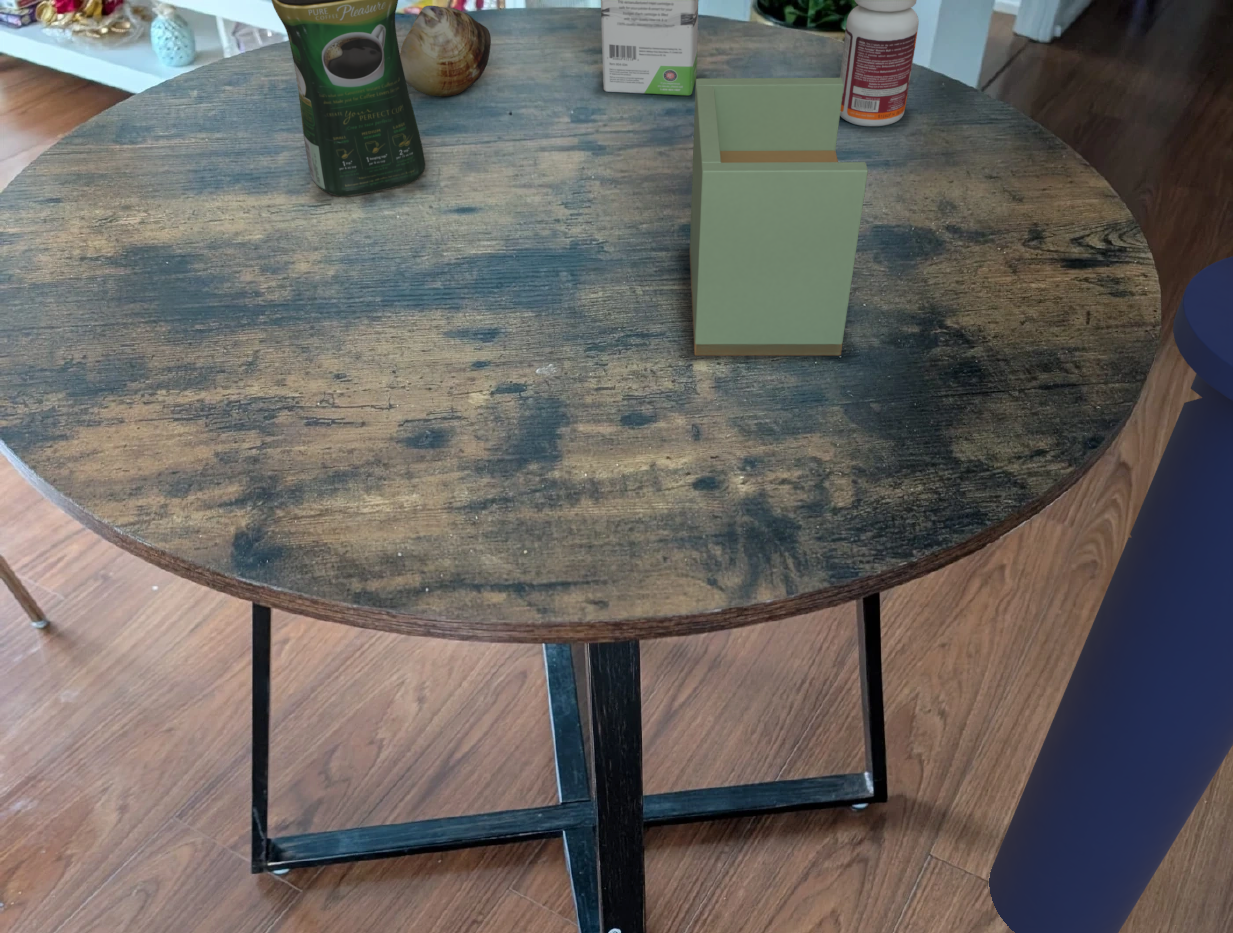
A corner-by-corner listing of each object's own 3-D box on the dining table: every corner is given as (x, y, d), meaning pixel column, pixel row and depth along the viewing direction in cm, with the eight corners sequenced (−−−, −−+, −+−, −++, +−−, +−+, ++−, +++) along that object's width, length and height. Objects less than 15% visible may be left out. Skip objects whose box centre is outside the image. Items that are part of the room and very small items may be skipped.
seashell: (421, 117, 107) (409, 24, 101) (391, 97, 110) (377, 6, 104) (508, 91, 110) (501, 0, 105) (476, 72, 114) (467, -17, 108)
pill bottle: (917, 119, 105) (941, -18, 97) (862, 134, 103) (882, -4, 95) (875, 95, 109) (895, -39, 100) (821, 109, 107) (837, -26, 98)
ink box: (697, 76, 112) (702, -60, 104) (691, 97, 109) (695, -42, 100) (610, 71, 113) (608, -64, 105) (601, 92, 110) (598, -46, 101)
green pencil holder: (820, 252, 89) (841, 77, 79) (840, 355, 79) (868, 170, 70) (689, 252, 89) (695, 77, 80) (694, 355, 79) (702, 170, 70)
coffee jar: (411, 147, 102) (376, -93, 89) (435, 185, 97) (402, -63, 84) (302, 167, 100) (249, -77, 86) (321, 207, 95) (268, -45, 81)
